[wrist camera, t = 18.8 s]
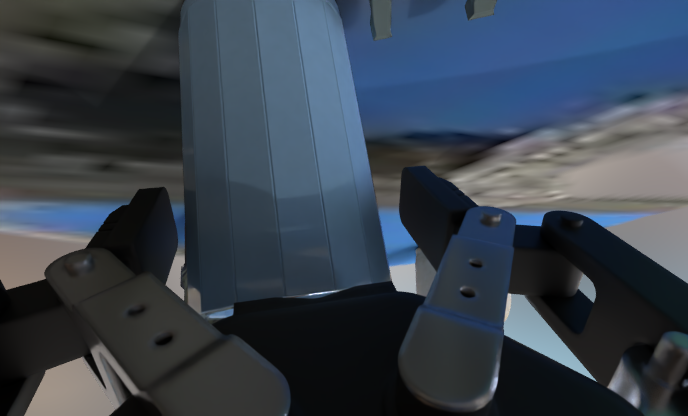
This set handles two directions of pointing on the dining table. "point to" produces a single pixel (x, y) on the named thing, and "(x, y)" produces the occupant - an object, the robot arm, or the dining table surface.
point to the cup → (273, 156)
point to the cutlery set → (380, 3)
